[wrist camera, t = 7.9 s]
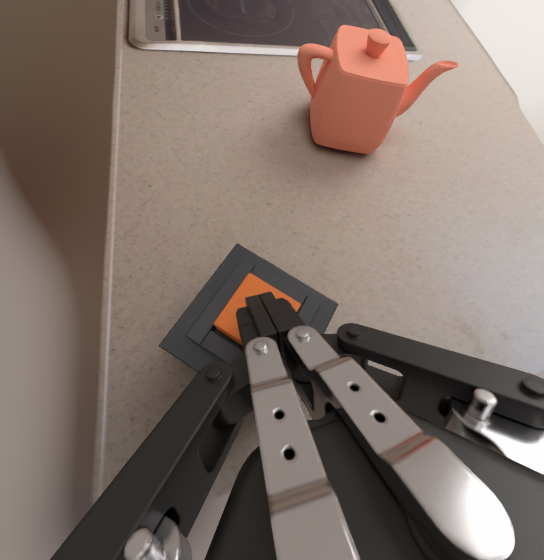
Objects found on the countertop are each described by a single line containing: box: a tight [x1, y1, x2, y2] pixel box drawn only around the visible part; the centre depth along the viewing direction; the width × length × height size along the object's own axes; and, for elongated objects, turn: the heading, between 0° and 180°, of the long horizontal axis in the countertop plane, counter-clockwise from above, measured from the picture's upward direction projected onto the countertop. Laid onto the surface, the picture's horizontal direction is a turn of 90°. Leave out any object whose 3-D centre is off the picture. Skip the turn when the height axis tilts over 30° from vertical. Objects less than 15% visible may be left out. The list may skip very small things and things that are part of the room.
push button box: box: [159, 244, 338, 377], centre depth 20 cm, size 10×10×7 cm
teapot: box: [298, 25, 458, 154], centre depth 29 cm, size 12×18×10 cm, turn 84°
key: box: [214, 273, 301, 346], centre depth 16 cm, size 4×4×2 cm
